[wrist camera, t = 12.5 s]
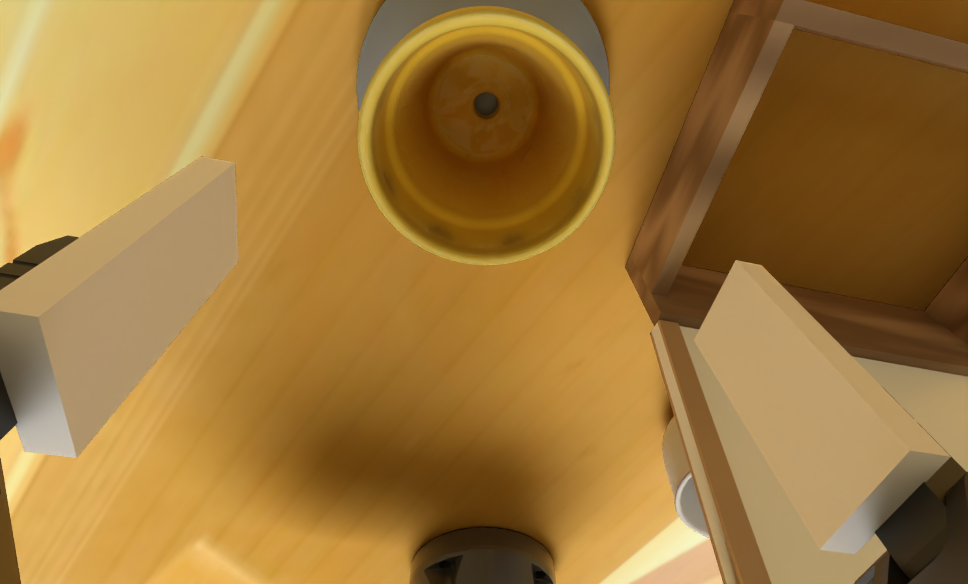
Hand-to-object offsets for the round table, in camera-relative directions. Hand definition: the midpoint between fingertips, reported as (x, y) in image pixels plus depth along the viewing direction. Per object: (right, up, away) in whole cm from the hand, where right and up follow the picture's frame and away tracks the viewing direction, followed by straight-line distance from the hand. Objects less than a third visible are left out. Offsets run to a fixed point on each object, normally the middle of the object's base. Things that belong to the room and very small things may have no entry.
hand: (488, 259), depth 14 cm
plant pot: (0, +10, +15) cm, 18 cm away
